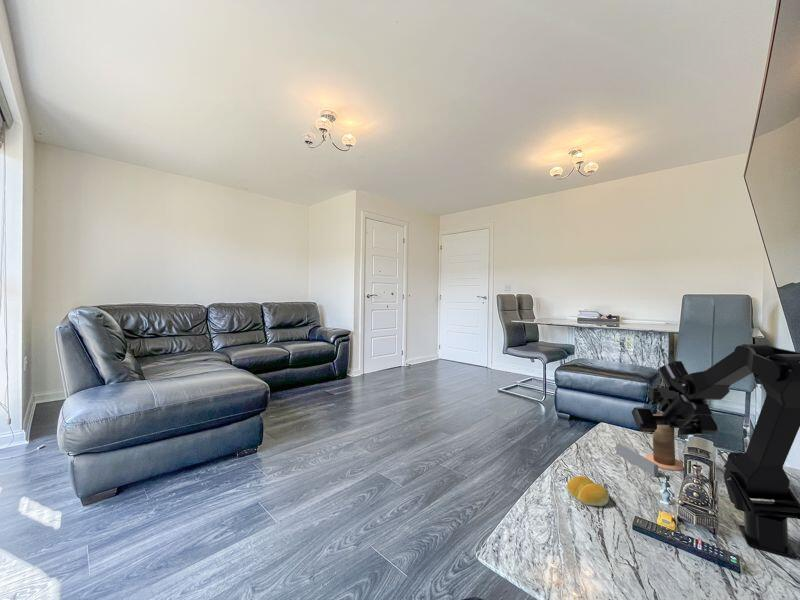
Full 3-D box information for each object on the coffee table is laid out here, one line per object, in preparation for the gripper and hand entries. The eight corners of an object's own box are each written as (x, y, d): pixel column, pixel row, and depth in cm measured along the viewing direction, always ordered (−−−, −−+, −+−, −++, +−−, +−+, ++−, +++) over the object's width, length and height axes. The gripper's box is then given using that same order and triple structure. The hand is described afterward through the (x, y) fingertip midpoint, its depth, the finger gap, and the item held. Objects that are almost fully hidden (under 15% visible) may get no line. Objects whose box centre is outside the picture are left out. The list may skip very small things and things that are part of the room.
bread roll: (593, 511, 75) (592, 494, 75) (561, 491, 84) (560, 475, 84) (618, 503, 78) (617, 486, 78) (585, 484, 87) (584, 469, 87)
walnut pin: (669, 467, 93) (667, 420, 93) (649, 459, 97) (648, 415, 98) (678, 463, 95) (677, 417, 95) (659, 456, 100) (657, 413, 100)
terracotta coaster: (687, 473, 90) (687, 472, 90) (646, 465, 95) (646, 464, 95) (682, 460, 97) (681, 458, 97) (644, 453, 102) (644, 452, 102)
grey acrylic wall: (658, 476, 89) (658, 465, 89) (654, 476, 89) (653, 465, 89) (620, 453, 103) (619, 443, 103) (616, 453, 103) (616, 443, 103)
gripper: (708, 380, 91) (683, 408, 101) (633, 380, 94) (616, 407, 105) (733, 419, 83) (703, 445, 93) (649, 417, 86) (630, 442, 97)
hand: (661, 433), depth 97 cm, fingers open, 9 cm apart
